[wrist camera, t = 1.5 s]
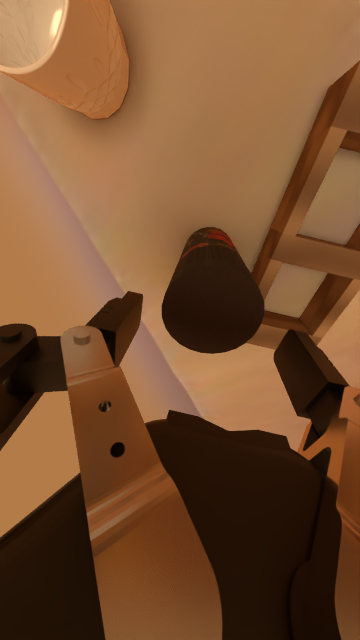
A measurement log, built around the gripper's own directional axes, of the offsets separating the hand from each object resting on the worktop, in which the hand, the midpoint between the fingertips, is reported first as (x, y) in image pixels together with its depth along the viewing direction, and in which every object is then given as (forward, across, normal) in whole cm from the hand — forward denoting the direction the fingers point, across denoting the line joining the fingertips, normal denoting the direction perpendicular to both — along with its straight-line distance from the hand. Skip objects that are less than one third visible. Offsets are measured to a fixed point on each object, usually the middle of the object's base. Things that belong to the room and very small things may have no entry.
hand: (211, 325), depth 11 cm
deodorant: (+16, 0, 0) cm, 16 cm away
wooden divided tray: (+16, -11, -3) cm, 20 cm away
